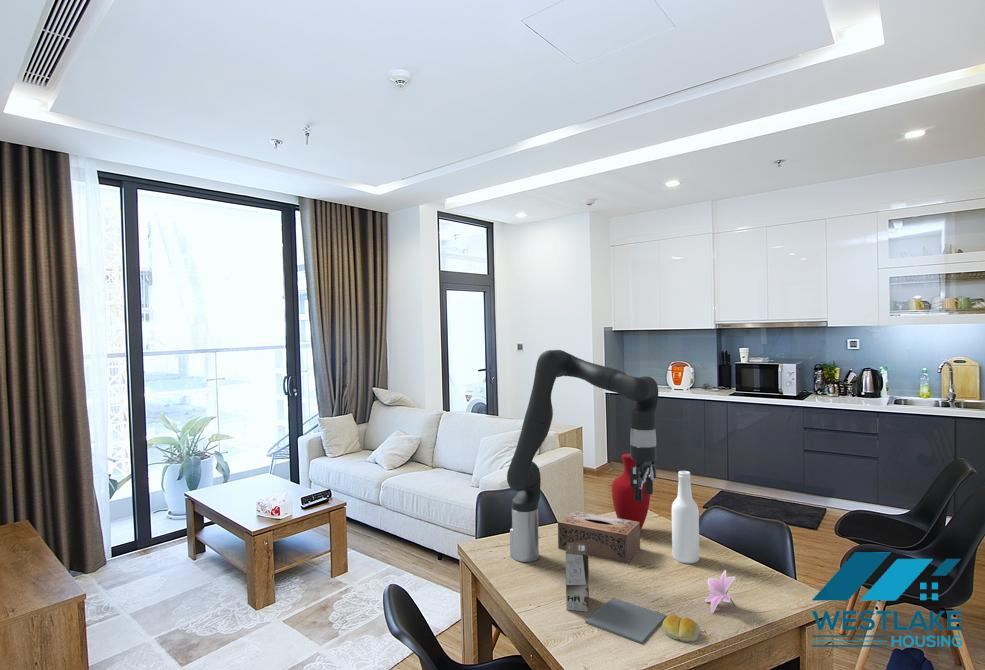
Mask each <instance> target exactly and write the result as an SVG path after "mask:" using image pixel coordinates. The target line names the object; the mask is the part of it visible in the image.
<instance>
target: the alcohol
mask: <svg viewBox="0 0 985 670" xmlns="http://www.w3.org/2000/svg"><path fill="white" fill-rule="evenodd" d="M677 473H678V475H677V476H678V484H677V496H676V497H675V499H674V501H672V503H671V550H672V554H671V555H672V557H673V559H674V560H675V561H676V562H679V563H682V564H687V565H688V564H689V565H690V564H691V565H692V564H696V563H697V562H698V561H700V518H699V517H700V515H699V513H700V512H699V507H698V503H697V502H696V501H695V500H694V498H693V495H692V494H693V493H692V485H691V483H692V481H691V472H690V471H688V470H679V471H678V472H677Z"/></svg>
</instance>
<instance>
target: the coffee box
mask: <svg viewBox="0 0 985 670" xmlns="http://www.w3.org/2000/svg"><path fill="white" fill-rule="evenodd" d="M589 569H590V568H589V555H588V543H571V542H567V547H566V550H565V597H566V598H565V599H566V600H565V601H566V602H565V603H566V607H565V609H566V610H567V611H576V612H586V613H587V612H589V604H590V603H589V602H590V574H589V572H590V570H589Z"/></svg>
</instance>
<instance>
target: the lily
mask: <svg viewBox="0 0 985 670" xmlns="http://www.w3.org/2000/svg"><path fill="white" fill-rule="evenodd" d="M735 579H736V576H732V575H731V576H728V577H727V570H726V569H724V570H723V572H722V573H721V575H720V577H719V579H718V578H716V577H709V578H707V587H708V589H709V591H710V593H708V595H707V597H706V599H705V601H704V602H705V603H708V602H710V613H711V614H712V613H713V614H714V612H715V610H716V608H717V606H718V605H719V603H720V602H721V601H722V602H725V603H730V602H731V603H732V605H733V606H734V607H736V604H735V603H734V601H733V600H732V598H731V597H730V594H729V591H728V589H729V588H730V586H731V585H732V583H733V582H734V581H735Z"/></svg>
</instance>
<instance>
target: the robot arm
mask: <svg viewBox="0 0 985 670" xmlns="http://www.w3.org/2000/svg"><path fill="white" fill-rule="evenodd" d="M562 377H572V378H577V379H580V380H583V381H586V382H587V383H589V384H590V385H592V386H594V387H597V388H599V389H602V390H606V391H609V392H612V393H617V394H618V395H619V396H622V397H624V398H626V399H628V400H631V401H635V406H634V408H632V410H631V412H630V433H629V434H630V435H629V436H630V437H629V439H630V441H629V442H630V443H629V444H630V445H629V446H630V448H629V449H630V453H629V454H630V457H631V459H632V460H635V462H636V464H635V467H631V468H630V487H631V488H634V500H635V501H637V502H641V501H642V486H643V483H644V482H645V493H646V494H650V496H651V495H653V494H654V481H655V479H656V478H657V464H656V463H657V462H656V461H657V434H656V433H657V432H656V410H657V405H658V400H659V386H658V384H657V381H656V380H655V379H654V378H652V377H651V376H647V375H645V376H639V377H637V376H632V375H629V374H627V373H626V372H625V371H622V370H620V369H616V368H613V367H612V368H611V367H609V366H605V365H601V364H596V363H593V362H589V361H588V360H584V359H582V358H580V357H577V356H575V355H573V354H571V353H570V352H569V353H568V352H567V351H565V350H562V349H550V350H544V351H543V352H542V353H541V354H540V355H539V356H538V358H537V362H536V365H535V372H534V380H533V385H532V389H531V393H530V397H529V402H528V404H527V409H526V411H525V415H524V419H523V422H522V427H521V429H520V430H521V431H520V435H519V438H518V441H517V444H516V448H515V451H514V453H513V457H512V459H511V462H510V463H509V466H508V470H507V472H506V473H507V474H506V482H507V484H508V487H509V488H510V489H511V490H513V491H514V492H517V493H516V495H515V496H514V497H512V500H511V528H510V529H509V545H510V547H509V549H510V553H509V556H510V557H512V558H513V559H514V560H516V561H517V562H523V563H524V562H525V563H528V562H529V563H530V562H535V561H537V559H539V557H540V554H539V553H540V550H539V549H540V548H539V543H540V542H539V541H540V540H539V503H540V498H541V486H542V485H541V484H542V483H541V482H542V481H541V472H540V468H539V467H538V465H537V464H536V463H535V462H534V461H533V459H534V457H535V455H536V454H537V452H538V451H539V450H540V448H541V446H542V444H544V442H545V440H546V438H547V436H548V434H549V431H550V428H551V426H552V422H553V416H554V411H553V402H552V392H553V388H554V385H555V382H556V379H557V378H562ZM633 480H634V483H633Z"/></svg>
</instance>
